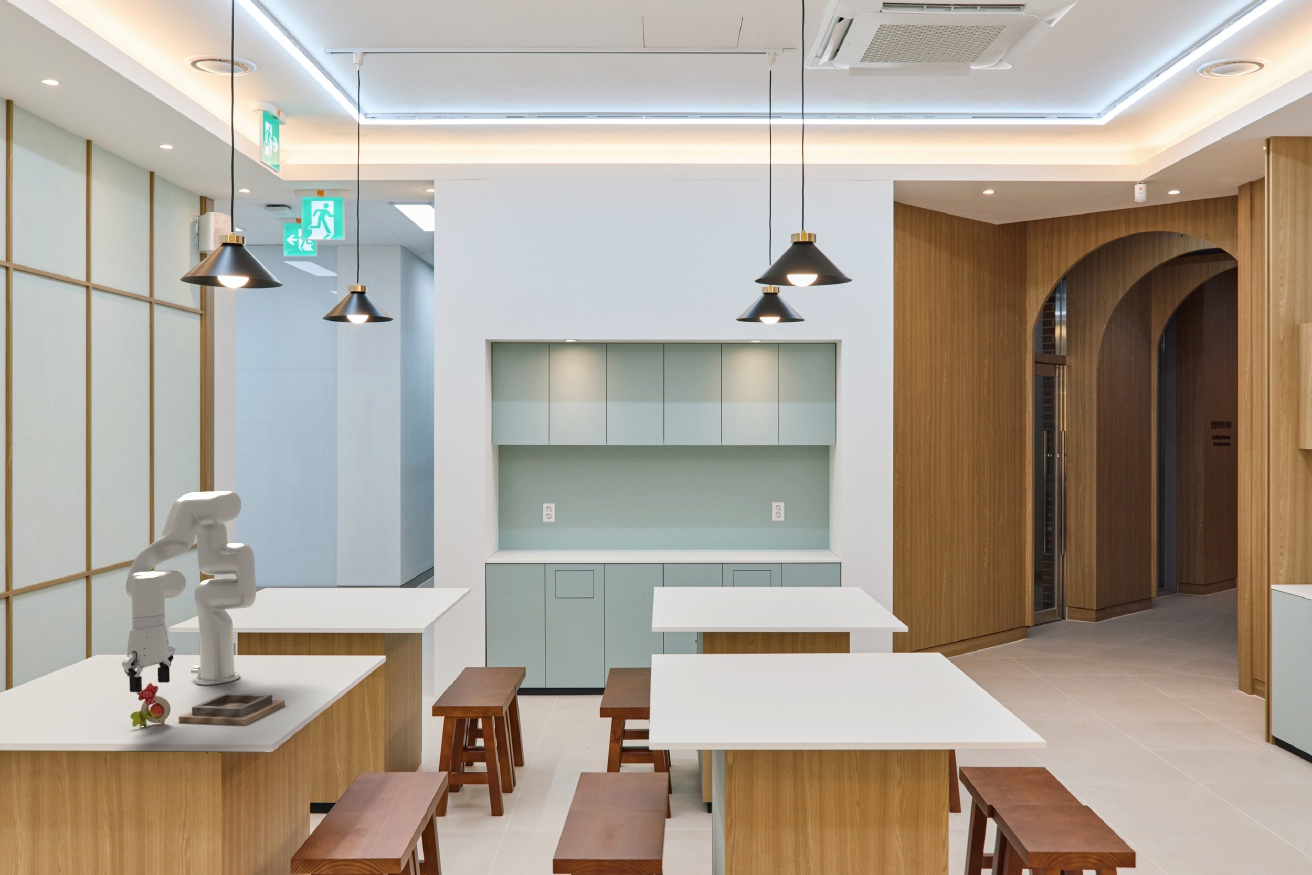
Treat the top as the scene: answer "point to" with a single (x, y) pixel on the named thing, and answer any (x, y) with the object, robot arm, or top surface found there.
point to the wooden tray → (232, 709)
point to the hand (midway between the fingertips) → (150, 686)
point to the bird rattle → (157, 710)
